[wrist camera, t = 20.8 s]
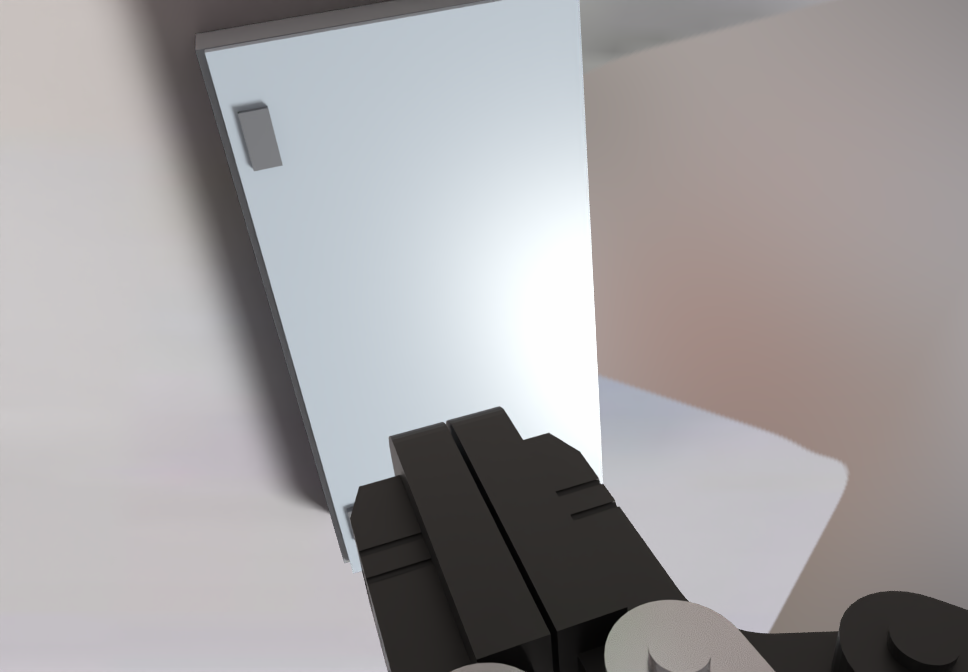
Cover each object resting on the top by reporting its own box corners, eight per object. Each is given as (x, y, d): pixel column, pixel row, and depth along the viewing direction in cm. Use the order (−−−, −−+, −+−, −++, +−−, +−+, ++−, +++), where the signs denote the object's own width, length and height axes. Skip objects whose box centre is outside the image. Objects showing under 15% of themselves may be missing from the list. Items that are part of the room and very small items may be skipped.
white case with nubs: (334, 516, 42) (344, 563, 39) (195, 33, 29) (195, 50, 26) (566, 447, 44) (592, 486, 41) (529, -23, 32) (563, -14, 29)
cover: (351, 564, 38) (354, 578, 38) (204, 49, 26) (204, 54, 25) (598, 486, 41) (605, 497, 40) (572, -15, 29) (582, -13, 28)
